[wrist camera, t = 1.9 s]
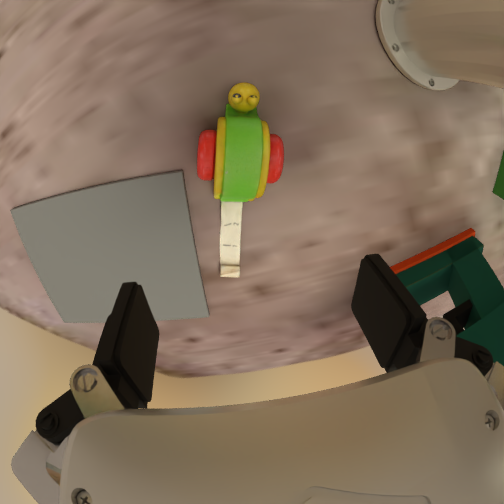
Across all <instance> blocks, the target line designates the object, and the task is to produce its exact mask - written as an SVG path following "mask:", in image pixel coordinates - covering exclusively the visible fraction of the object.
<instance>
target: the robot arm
mask: <svg viewBox="0 0 504 504" xmlns="http://www.w3.org/2000/svg"><path fill="white" fill-rule="evenodd" d="M376 26H377V30H378V33H379V37H380V39H381V42H382V44H383V47H384V49H385V50H386V52H387V54H388V56H389V58H390V59H391V60H392V62H393V63H394V64H395V66H396V67H397V68H398V69H399V70H400V71H401V72H402V74H403V75H404V76H406V77H407V78H408V79H409V80H411V81H412V82H413V83H415V84H417V85H419V86H420V87H423V88H426V89H430V90H436V91H439V90H447V89H450V88H452V87H453V86H455V85H456V84H457V83H458V81H459V80H464V81H470V82H476V83H481V84H486V85H491V86H495V87H499V88H503V89H504V0H379V1H378V4H377V7H376ZM351 307H352V312H353V314H354V315H355V317H356V319H357V321H358V323H359V325H360V327H361V329H362V331H363V332H364V334H365V336H366V338H367V340H368V342H369V344H370V346H371V348H372V350H373V352H374V354H375V356H376V358H377V360H378V362H379V364H380V366H381V367H382V368H385V370H386V372H387V373H385V374H382V375H379V376H376V377H373V378H369V379H366V380H362V381H359V382H355V383H351V384H347V385H344V386H340V387H336V388H331V389H327V390H323V391H318V392H314V393H309V394H304V395H299V396H293V397H288V398H282V399H276V400H269V401H263V402H255V403H246V404H237V405H227V406H215V407H200V408H199V407H198V408H173V409H147V403H148V402H150V401H151V398H152V388H153V379H154V371H155V363H156V355H157V348H158V341H159V329H158V326H157V324H156V322H155V319H154V317H153V314H152V312H151V309H150V307H149V304H148V301H147V299H146V296H145V293H144V291H143V288H142V286H141V285H138V284H137V282H124V283H122V285H121V288H120V290H119V293H118V296H117V298H116V301H115V304H114V307H113V309H112V312H111V314H110V315H109V316H108V318H107V320H106V323H105V326H104V329H103V332H102V335H101V338H100V341H99V344H98V347H97V351H96V354H95V357H94V361H93V364H92V365H89V364H88V365H83V366H81V367H79V368H77V369H76V370H75V371H74V373H73V374H72V376H71V378H70V384H69V385H70V390H69V391H67V392H66V393H64V394H63V395H62V396H60V397H59V398H58V399H56V400H55V401H54V402H52V403H51V404H50V405H48V406H47V407H45V408H44V409H43V410H42V411H41V412H40V413H39V414H38V416H37V419H36V429H37V430H36V431H35V432H34V431H33V430H32V431H31V432H30V434H29V435H28V437H27V438H26V439H25V441H24V442H23V443H22V445H21V446H20V448H19V449H18V451H17V452H16V453H15V455H14V456H13V459H12V463H11V466H12V470H13V472H14V474H15V476H16V477H17V478H18V480H19V481H20V482H21V483H22V485H23V486H24V487H25V488H26V490H27V491H28V492H29V493H30V494H31V495H32V497H33V498H34V499H35V500H36V501H37V502H38V503H39V504H504V366H503V365H501V364H500V363H498V362H497V361H496V362H495V363H493V357H492V354H491V353H490V351H489V350H488V349H487V348H485V347H483V346H481V345H478V344H475V343H473V342H470V341H468V340H465V339H462V338H460V337H457V336H456V334H455V329H454V327H453V325H452V324H451V323H450V322H449V321H447V320H446V319H443V318H440V317H433V318H431V319H429V320H428V319H427V318H426V313H425V312H424V311H423V309H422V308H421V307H420V305H419V304H418V303H417V301H416V300H415V299H414V297H413V296H412V295H411V293H410V292H409V291H408V289H407V288H406V287H405V286H404V284H403V283H402V282H401V281H400V279H399V278H398V277H397V276H396V274H395V273H394V272H393V271H392V269H391V268H390V267H389V266H388V265H387V263H386V262H385V261H384V260H383V259H382V257H381V256H380V255H379V254H370V255H366V256H365V257H364V259H362V260H361V263H360V268H359V273H358V278H357V283H356V287H355V291H354V296H353V300H352V305H351ZM138 408H145V409H138Z"/></svg>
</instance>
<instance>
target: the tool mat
mask: <svg viewBox="0 0 504 504" xmlns="http://www.w3.org/2000/svg"><path fill="white" fill-rule="evenodd" d="M10 211H11V214H12V216H13V219H14V222H15V225H16V227H17V230H18V232H19V235H20V237H21V240H22V242H23V245H24V247H25V249H26V252H27V254H28V256H29V258H30V260H31V263H32V265H33V267H34V269H35V271H36V273H37V275H38V277H39V279H40V281H41V283H42V285H43V287H44V288H45V290H46V292H47V294H48V296H49V298H50V299H51V301H52V303H53V305H54V306H55V308H56V310H57V311H58V313H59V315H60V316H61V318H62V319H63V321H64V323H105V322H106V320H107V318H108V316H109V315H110V314H111V312H112V309H113V307H114V304H115V301H116V298H117V296H118V293H119V290H120V288H121V285H122V283H124V282H137V284H138V285H141V286H142V288H143V291H144V293H145V296H146V299H147V301H148V304H149V307H150V309H151V312H152V314H153V317H154V319H155V321H159V320H176V319H190V318H203V317H209V310H208V305H207V301H206V296H205V291H204V287H203V282H202V277H201V272H200V267H199V262H198V257H197V252H196V246H195V241H194V236H193V230H192V224H191V219H190V213H189V207H188V201H187V194H186V188H185V181H184V175H183V170H180V171H173V172H166V173H160V174H154V175H148V176H142V177H136V178H131V179H126V180H120V181H115V182H110V183H106V184H101V185H96V186H92V187H88V188H83V189H79V190H75V191H71V192H67V193H63V194H59V195H56V196H52V197H48V198H45V199H41V200H38V201H35V202H31V203H28V204H25V205H21V206H18V207H15V208H13V209H12V210H10Z"/></svg>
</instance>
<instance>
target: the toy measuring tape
mask: <svg viewBox="0 0 504 504" xmlns="http://www.w3.org/2000/svg"><path fill="white" fill-rule="evenodd" d="M259 99H260V95H259V92H258V90H257V88H256V87H255V86H254V85H252V84H250V83H238V84H236V85H235V86H233V87H232V88H231V90H230V92H229V95H228V100H229V104H226V113H225V117H219V118H218V124H217V131H215V130H205V131H203V132H201V134H200V136H199V143H198V154H197V173H198V177H199V178H200V179H202V180H212V179H214V198H215V199H220V201H221V229H220V265H221V266H220V277H239V276H240V266H239V263H240V237H241V235H240V233H241V220H242V207H243V202H247V201H253V200H254V198H260V197H261V196H262V195H263V193H264V191H265V187H266V183H274V182H276V181H277V180H278V179H279V178H280V176H281V173H282V169H283V162H284V147H283V142H282V139H281V138H280V137H279V136H278V135H276V134H270V133H269V127H268V124H267V122H265V121H261V120H260V118H259V117H258V114H257V109H256V106H257V105H258V103H259Z"/></svg>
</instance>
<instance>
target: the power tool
mask: <svg viewBox="0 0 504 504" xmlns="http://www.w3.org/2000/svg"><path fill="white" fill-rule="evenodd" d="M483 247H484V245H483V244H482V243H481V242H480V241H479V240H478V239H476V238H475V231H474V230H473V229H472V228H470V229H468V230H466V231H464V232H462V233H460V234H458V235H456V236H454V237H452V238H450V239H448V240H446V241H444V242H442V243H440V244H438V245H436V246H434V247H432V248H430V249H428V250H426V251H424V252H422V253H420V254H418V255H415V256H413V257H411V258H409V259H407V260H405V261H402V262H400V263H398V264H396V265H394V266H391V267H390V268H391V269H392V271H393V272H394V273H395V274H396V276H397V277H398V278H399V279H400V281H401V282H402V283H403V284H404V286H405V287H406V288H407V289H408V291H409V292H410V293H411V295H412V296H413V297H414V299H415V300H416V301H417V303H418V304H419V305H422V304H424V303H426V302H428V301H429V300H431V299H433V298H435V297H437V296H439V295H440V294H442V293H444V292H446V291H449V293H450V296H451V298H452V300H453V302H454V305H455V308H454V309H452V310H450V311H449V312H447V313H445V314H444V315H443V319H446V320H447V321H449V322H450V323H451V324H452V325H453V327H454V329H455V334H456V336H457V337H460V338H462V339H465V340H468V341H470V342H473V343H475V344H478V345H481V346H483V347H485V348H487V349H488V350H489V351H490V353H491V354H492V357H493V363H495V362H496V361H497V362H498V363H500V364H501V365H503V366H504V288H503V286H502V285H501V283H500V281H499V280H498V278H497V276H496V275H495V273H494V272H493V270H492V268H491V267H490V265H489V264H488V262H487V261H486V259H485V258H484V256H483V255H482V252H483ZM463 328H464V329H465V330H464V329H463Z"/></svg>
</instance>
